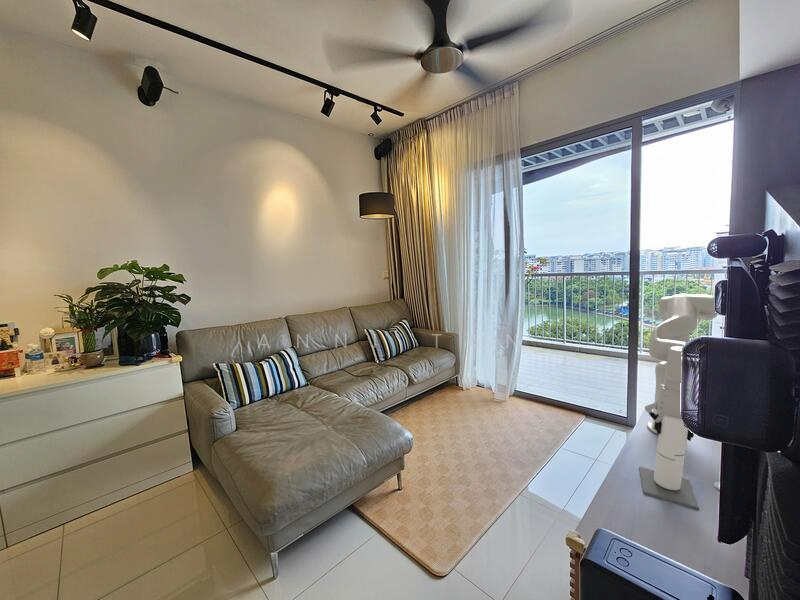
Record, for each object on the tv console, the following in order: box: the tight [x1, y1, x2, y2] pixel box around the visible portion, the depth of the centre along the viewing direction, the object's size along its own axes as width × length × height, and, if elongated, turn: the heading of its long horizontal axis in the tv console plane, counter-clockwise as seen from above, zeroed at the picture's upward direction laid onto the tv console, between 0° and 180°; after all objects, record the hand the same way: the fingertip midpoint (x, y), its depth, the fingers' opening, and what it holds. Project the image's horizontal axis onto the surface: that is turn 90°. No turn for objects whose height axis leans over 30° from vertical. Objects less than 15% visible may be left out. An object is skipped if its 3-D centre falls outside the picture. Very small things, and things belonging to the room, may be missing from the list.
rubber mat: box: [638, 466, 700, 510], centre depth 112 cm, size 14×14×1 cm
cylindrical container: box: [654, 416, 688, 490], centre depth 109 cm, size 7×7×25 cm
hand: (672, 434), depth 108 cm, fingers closed on cylindrical container, 7 cm apart
